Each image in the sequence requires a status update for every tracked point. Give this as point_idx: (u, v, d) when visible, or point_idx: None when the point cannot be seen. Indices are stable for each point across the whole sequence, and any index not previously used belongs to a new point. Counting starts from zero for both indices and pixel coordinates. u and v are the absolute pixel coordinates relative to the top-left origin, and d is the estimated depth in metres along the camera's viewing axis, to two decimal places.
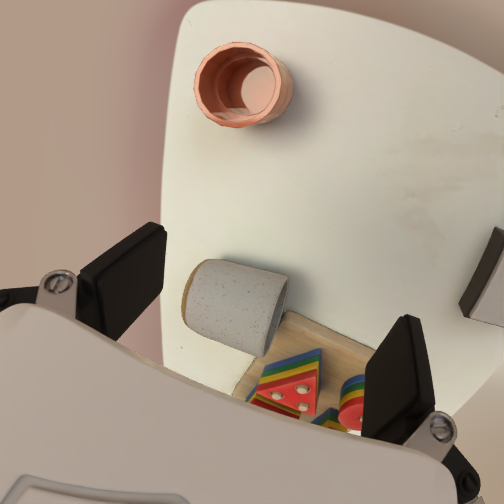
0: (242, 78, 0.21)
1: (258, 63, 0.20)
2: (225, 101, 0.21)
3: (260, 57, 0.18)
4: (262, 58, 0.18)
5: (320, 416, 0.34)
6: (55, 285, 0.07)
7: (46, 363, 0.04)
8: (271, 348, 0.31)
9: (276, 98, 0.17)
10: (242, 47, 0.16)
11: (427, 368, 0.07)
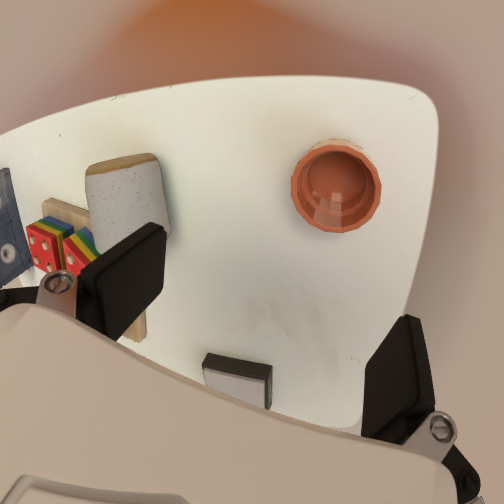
0: (346, 162, 0.22)
1: (363, 178, 0.22)
2: None
3: (367, 195, 0.20)
4: (366, 197, 0.20)
5: None
6: (55, 285, 0.07)
7: (46, 363, 0.04)
8: None
9: (324, 229, 0.20)
10: (375, 194, 0.18)
11: (427, 368, 0.07)
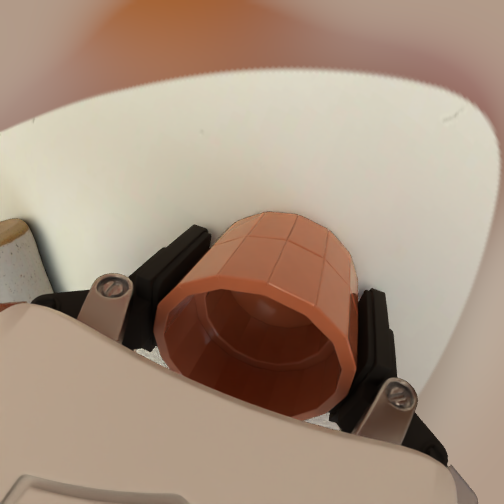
0: None
1: None
2: None
3: (332, 344, 0.10)
4: (330, 347, 0.10)
5: None
6: (109, 289, 0.08)
7: (46, 363, 0.04)
8: None
9: None
10: (339, 381, 0.07)
11: (387, 336, 0.08)
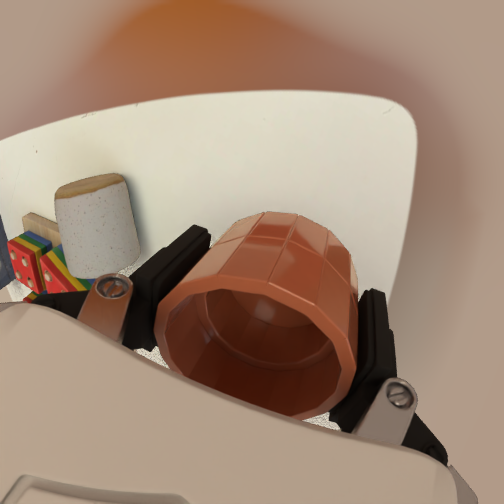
0: None
1: None
2: None
3: (332, 344, 0.10)
4: (330, 347, 0.10)
5: None
6: (109, 289, 0.08)
7: (46, 363, 0.04)
8: None
9: None
10: (339, 380, 0.07)
11: (387, 336, 0.08)
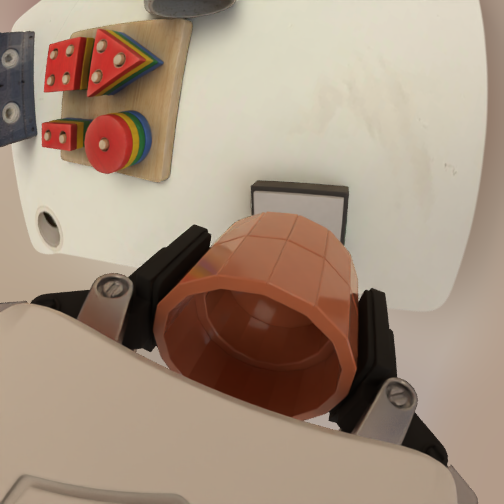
0: None
1: None
2: None
3: (332, 344, 0.10)
4: (330, 347, 0.10)
5: (81, 119, 0.28)
6: (109, 289, 0.08)
7: (46, 363, 0.04)
8: (146, 25, 0.22)
9: None
10: (339, 381, 0.07)
11: (387, 336, 0.08)
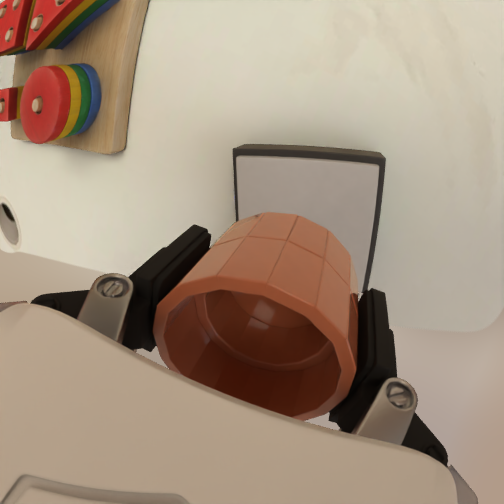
0: None
1: None
2: None
3: (332, 345, 0.10)
4: (330, 348, 0.10)
5: None
6: (109, 289, 0.08)
7: (46, 363, 0.04)
8: None
9: None
10: (339, 381, 0.07)
11: (387, 336, 0.08)
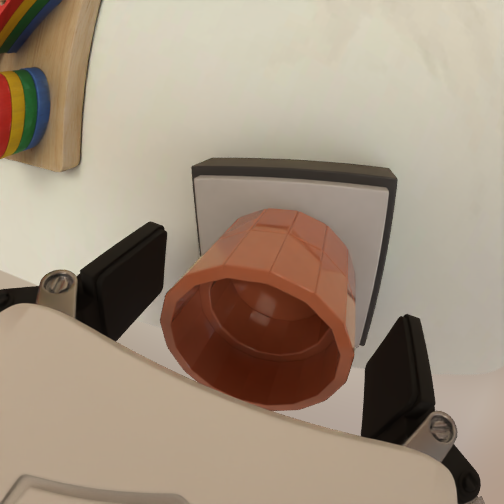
0: None
1: None
2: None
3: (331, 334, 0.10)
4: (329, 337, 0.10)
5: None
6: (55, 285, 0.07)
7: (46, 363, 0.04)
8: None
9: None
10: (338, 367, 0.08)
11: (427, 368, 0.07)
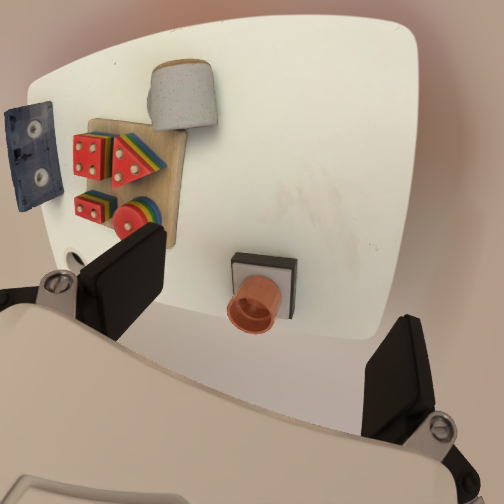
0: None
1: None
2: None
3: None
4: None
5: (105, 194, 0.42)
6: (55, 285, 0.07)
7: (46, 363, 0.04)
8: (151, 131, 0.35)
9: (246, 331, 0.37)
10: (271, 319, 0.35)
11: (427, 368, 0.07)
